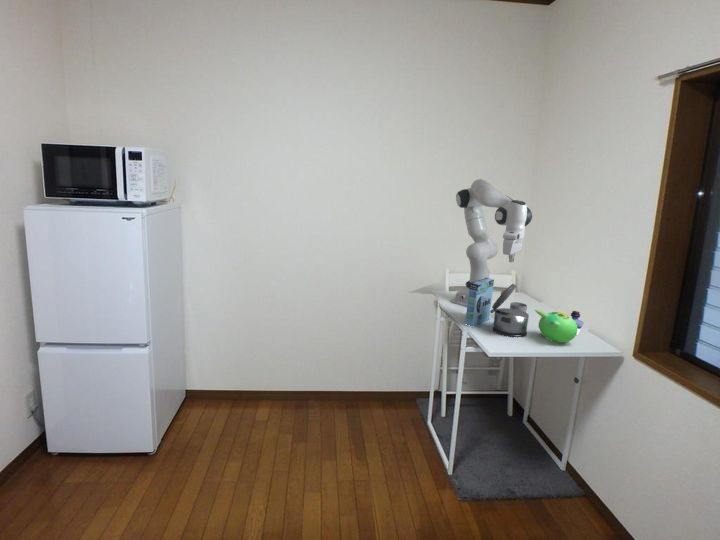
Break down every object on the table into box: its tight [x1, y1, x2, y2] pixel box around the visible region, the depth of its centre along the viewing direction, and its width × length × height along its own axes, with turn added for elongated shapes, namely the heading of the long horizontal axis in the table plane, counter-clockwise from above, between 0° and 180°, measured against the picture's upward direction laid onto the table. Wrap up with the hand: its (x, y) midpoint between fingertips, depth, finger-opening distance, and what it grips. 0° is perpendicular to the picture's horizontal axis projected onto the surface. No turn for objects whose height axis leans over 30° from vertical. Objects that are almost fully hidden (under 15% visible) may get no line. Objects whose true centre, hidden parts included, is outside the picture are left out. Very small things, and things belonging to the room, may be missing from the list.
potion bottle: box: [570, 310, 584, 336], centre depth 225 cm, size 9×9×12 cm
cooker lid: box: [490, 283, 517, 314], centre depth 223 cm, size 18×16×4 cm
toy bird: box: [534, 309, 578, 343], centre depth 213 cm, size 18×17×15 cm
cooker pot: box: [492, 307, 530, 338], centre depth 223 cm, size 17×21×10 cm
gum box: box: [464, 277, 495, 327], centre depth 234 cm, size 20×5×23 cm, turn 139°
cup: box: [509, 301, 528, 313], centre depth 240 cm, size 8×8×10 cm
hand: (511, 262), depth 218 cm, fingers closed
